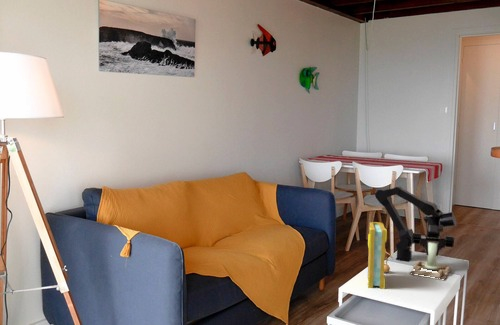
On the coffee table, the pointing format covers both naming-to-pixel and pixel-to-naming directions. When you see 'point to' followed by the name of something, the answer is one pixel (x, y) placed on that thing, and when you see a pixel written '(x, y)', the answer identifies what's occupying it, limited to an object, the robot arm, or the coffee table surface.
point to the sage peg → (432, 256)
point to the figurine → (386, 267)
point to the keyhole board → (441, 274)
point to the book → (376, 254)
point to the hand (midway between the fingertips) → (432, 255)
